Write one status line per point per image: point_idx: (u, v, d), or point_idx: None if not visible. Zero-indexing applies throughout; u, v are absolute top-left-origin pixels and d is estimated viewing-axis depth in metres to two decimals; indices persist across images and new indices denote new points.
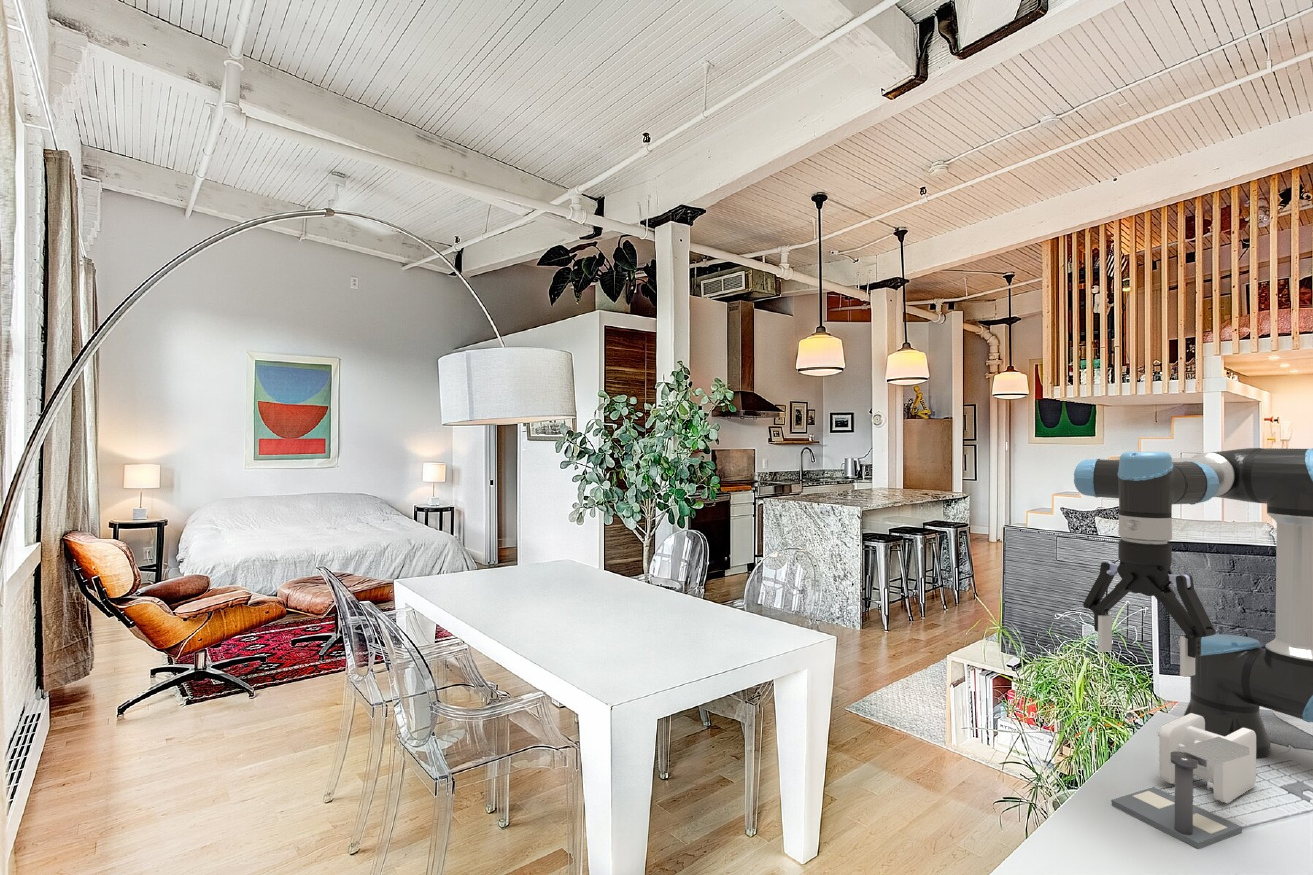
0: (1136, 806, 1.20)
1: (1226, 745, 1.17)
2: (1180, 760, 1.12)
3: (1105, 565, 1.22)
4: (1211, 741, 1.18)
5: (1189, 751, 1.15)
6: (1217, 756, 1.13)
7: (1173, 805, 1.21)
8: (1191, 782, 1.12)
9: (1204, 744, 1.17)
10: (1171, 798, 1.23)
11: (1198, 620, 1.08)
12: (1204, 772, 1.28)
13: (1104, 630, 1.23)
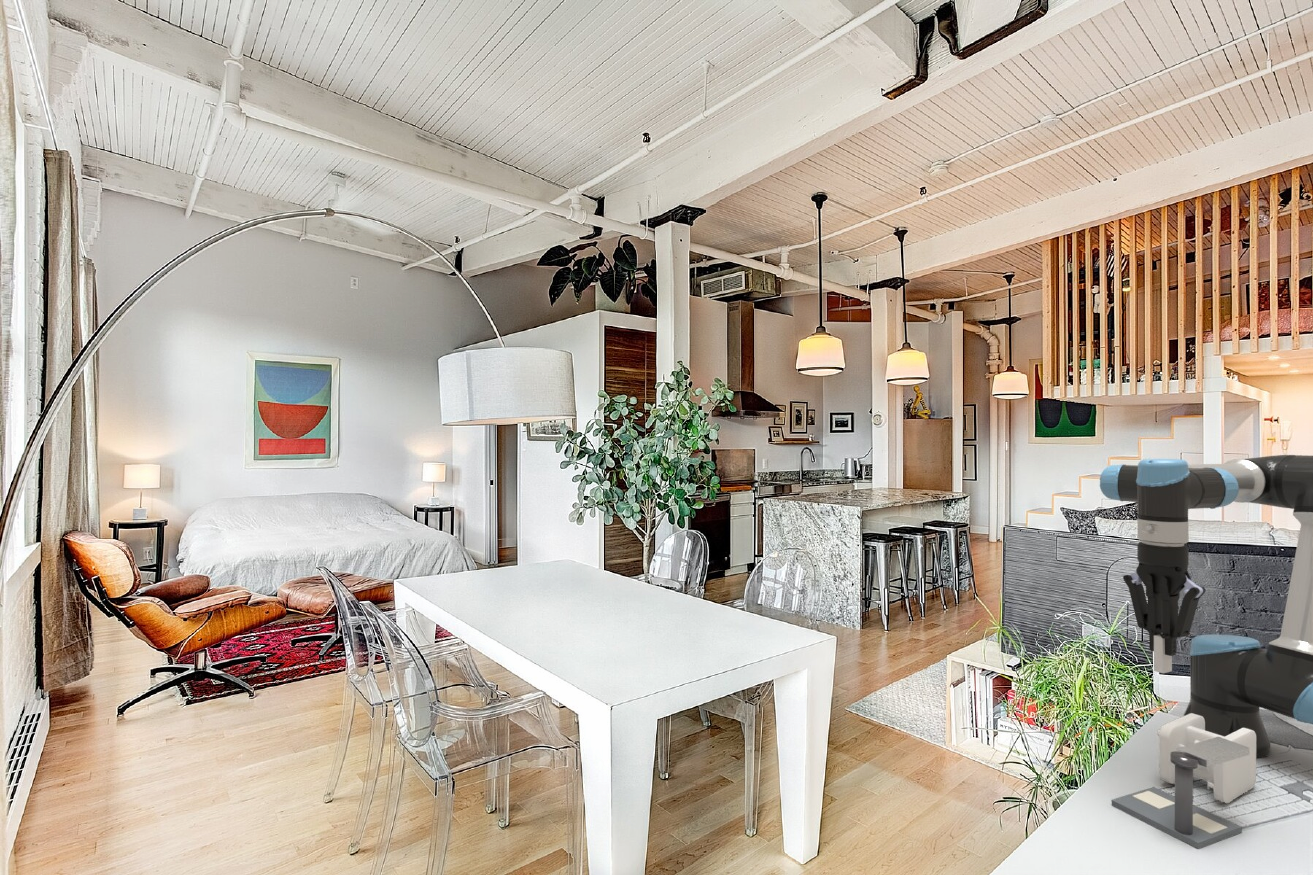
0: (1136, 806, 1.20)
1: (1226, 745, 1.17)
2: (1180, 760, 1.12)
3: (1127, 577, 1.28)
4: (1211, 741, 1.18)
5: (1189, 751, 1.15)
6: (1217, 756, 1.13)
7: (1173, 805, 1.21)
8: (1191, 782, 1.12)
9: (1204, 744, 1.17)
10: (1171, 798, 1.23)
11: (1182, 625, 1.20)
12: (1204, 772, 1.28)
13: None
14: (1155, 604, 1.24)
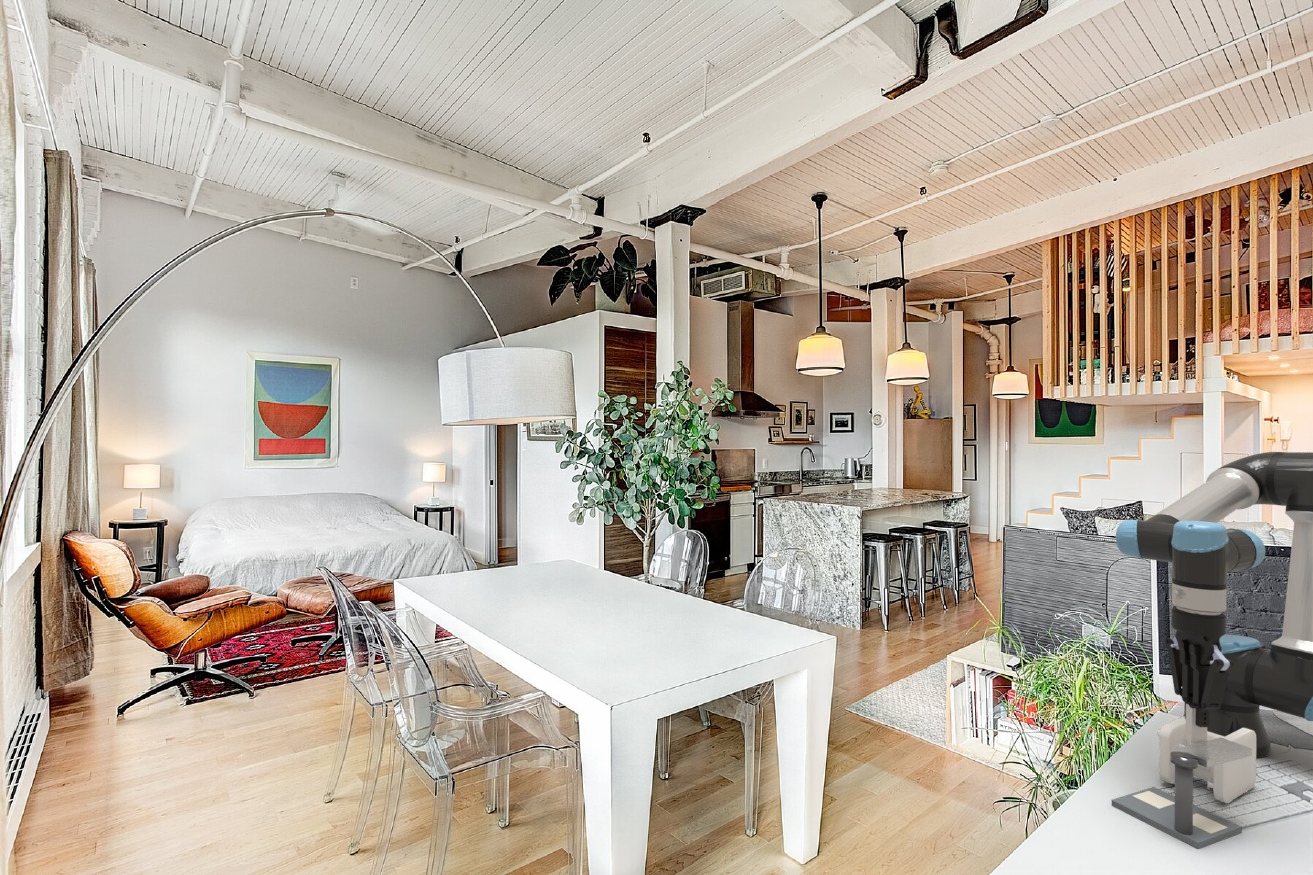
0: (1136, 806, 1.20)
1: (1228, 745, 1.17)
2: (1180, 760, 1.12)
3: (1167, 640, 1.25)
4: (1213, 741, 1.18)
5: (1189, 751, 1.15)
6: (1218, 756, 1.13)
7: (1173, 805, 1.21)
8: (1191, 782, 1.12)
9: (1205, 745, 1.17)
10: (1171, 798, 1.23)
11: (1207, 696, 1.15)
12: (1204, 772, 1.28)
13: None
14: (1189, 672, 1.20)
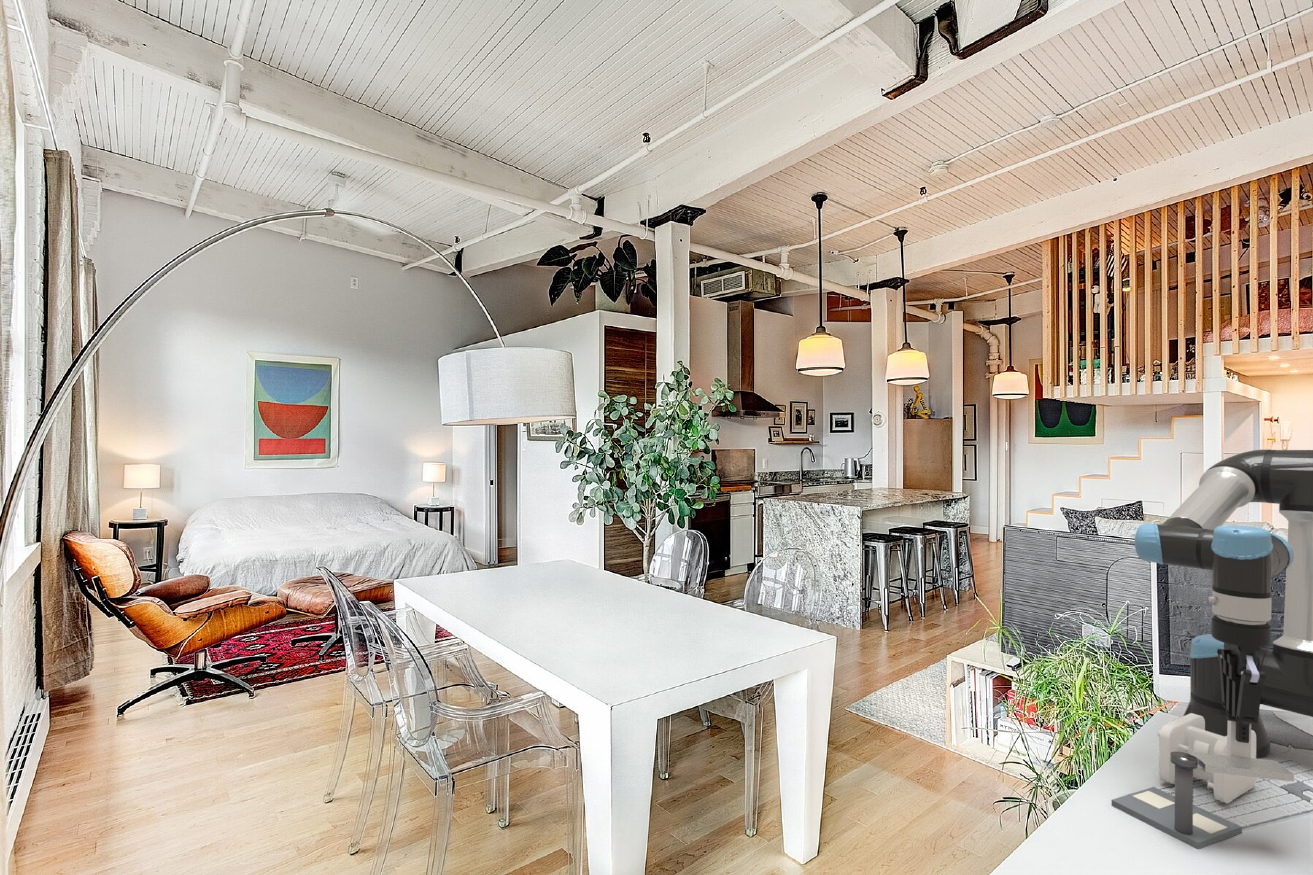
0: (1136, 806, 1.20)
1: (1266, 765, 1.10)
2: (1173, 757, 1.13)
3: (1218, 651, 1.19)
4: (1253, 759, 1.12)
5: (1201, 756, 1.13)
6: (1228, 766, 1.09)
7: (1173, 805, 1.21)
8: (1191, 782, 1.12)
9: (1236, 758, 1.12)
10: (1171, 798, 1.23)
11: (1239, 708, 1.10)
12: (1204, 772, 1.28)
13: None
14: (1231, 683, 1.14)
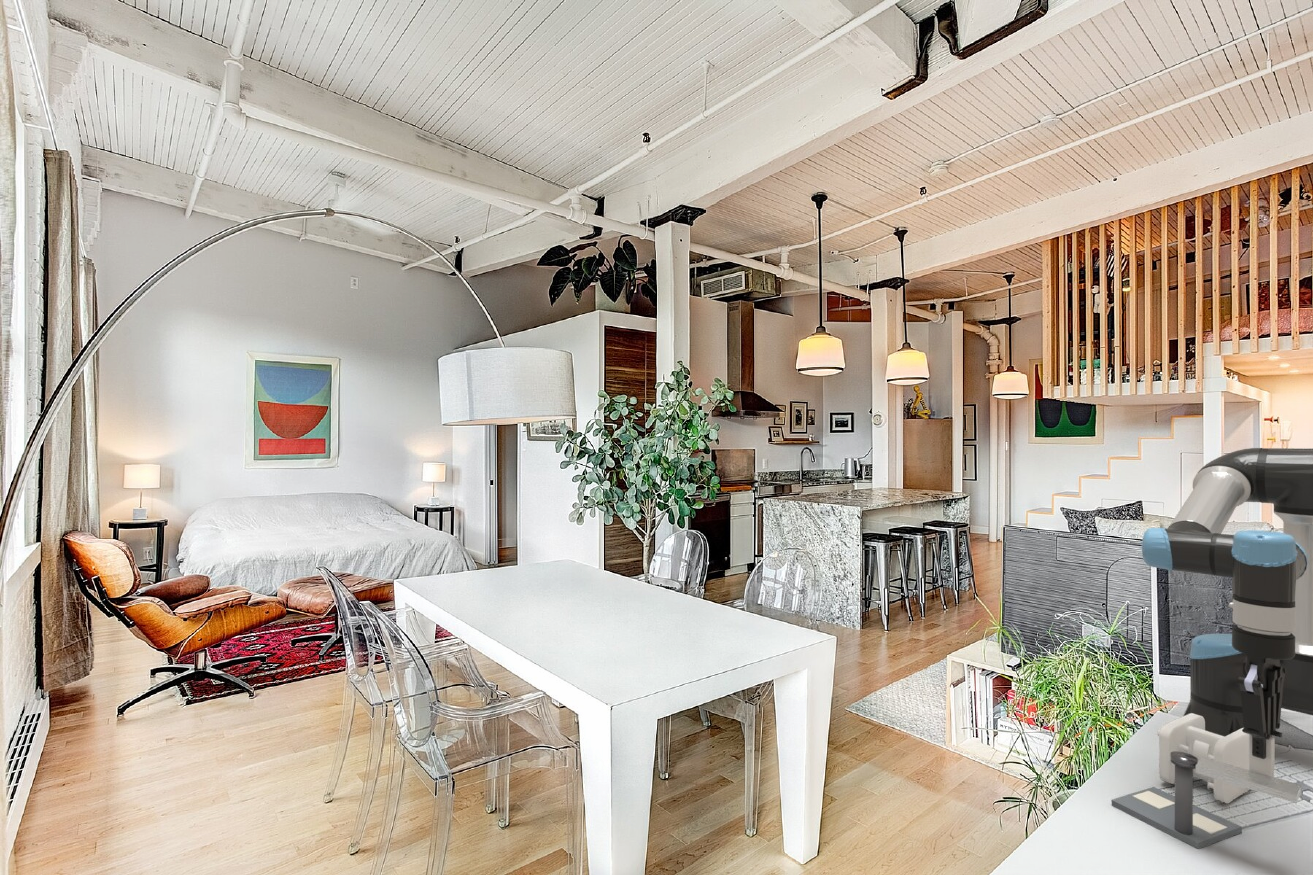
0: (1136, 806, 1.20)
1: (1275, 783, 1.04)
2: (1170, 754, 1.14)
3: None
4: (1270, 777, 1.06)
5: (1206, 761, 1.11)
6: (1221, 772, 1.07)
7: (1173, 805, 1.21)
8: (1191, 782, 1.12)
9: (1248, 771, 1.08)
10: (1171, 798, 1.23)
11: (1243, 718, 1.07)
12: None
13: None
14: None
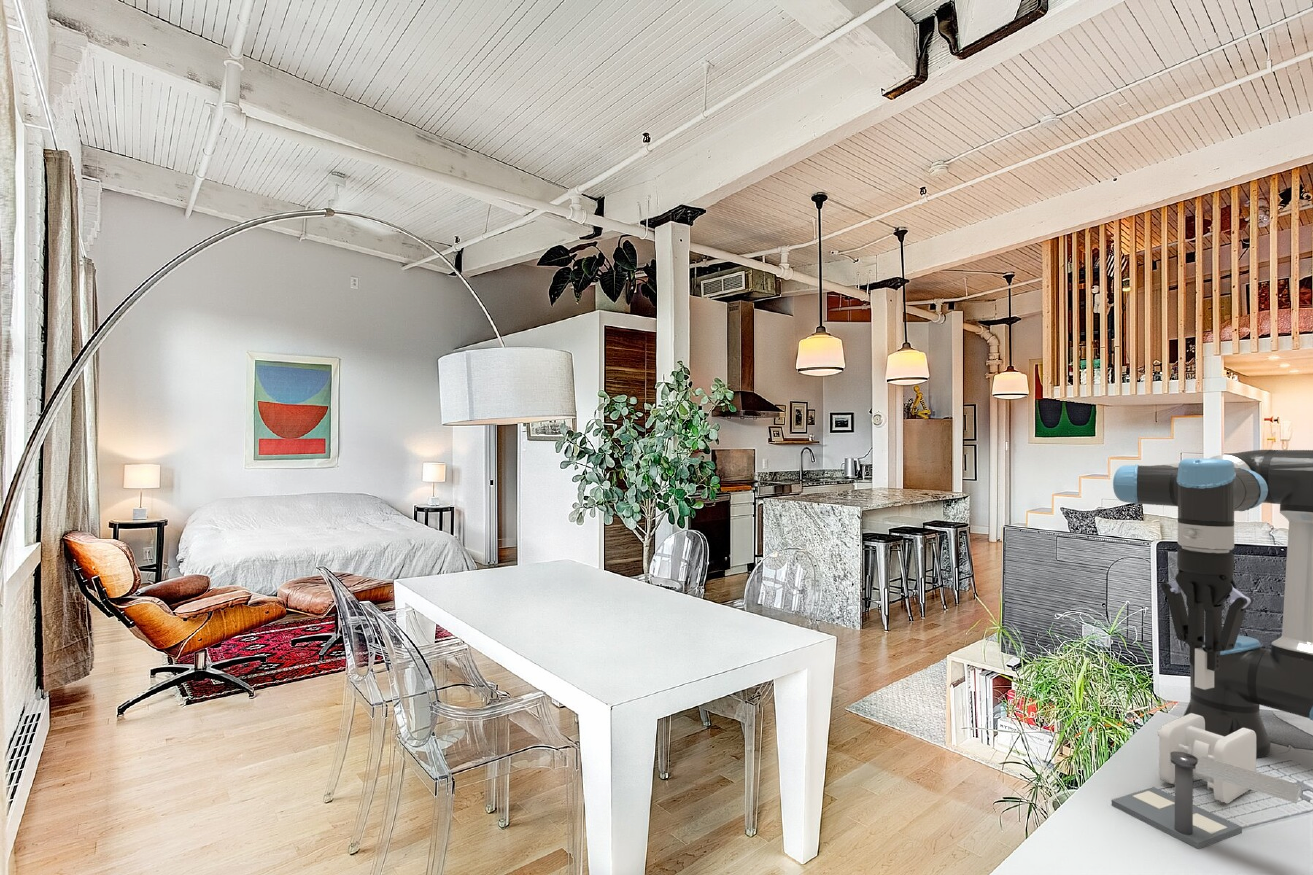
0: (1136, 806, 1.20)
1: (1275, 783, 1.04)
2: (1170, 754, 1.14)
3: (1165, 585, 1.19)
4: (1270, 777, 1.06)
5: (1206, 761, 1.11)
6: (1221, 772, 1.07)
7: (1173, 805, 1.21)
8: (1191, 782, 1.12)
9: (1248, 771, 1.08)
10: (1171, 798, 1.23)
11: (1227, 637, 1.11)
12: None
13: None
14: (1196, 615, 1.15)
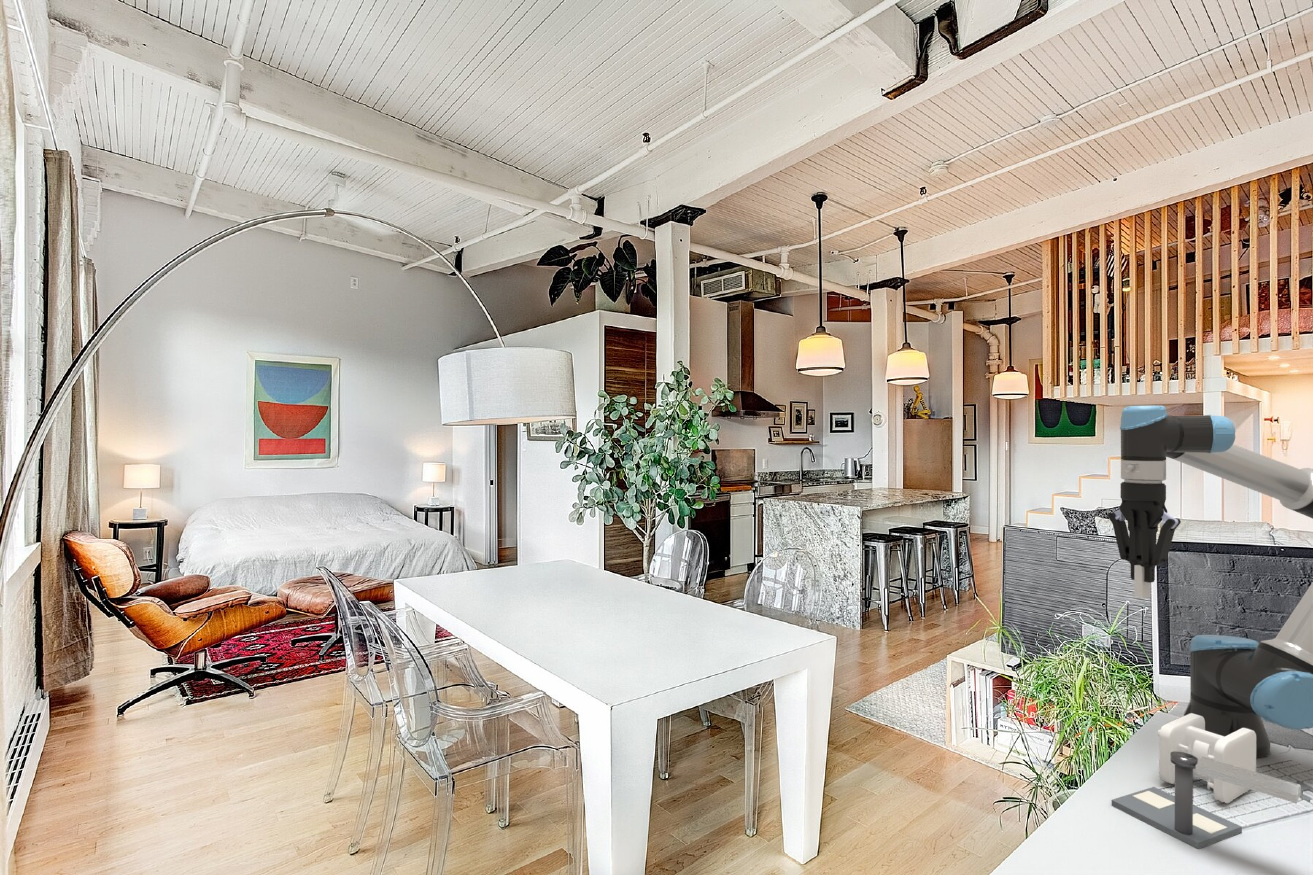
0: (1136, 806, 1.20)
1: (1275, 783, 1.04)
2: (1170, 754, 1.14)
3: (1111, 514, 1.42)
4: (1270, 777, 1.06)
5: (1206, 761, 1.11)
6: (1221, 772, 1.07)
7: (1173, 805, 1.21)
8: (1191, 782, 1.12)
9: (1248, 771, 1.08)
10: (1171, 798, 1.23)
11: (1159, 553, 1.33)
12: None
13: None
14: (1136, 537, 1.37)
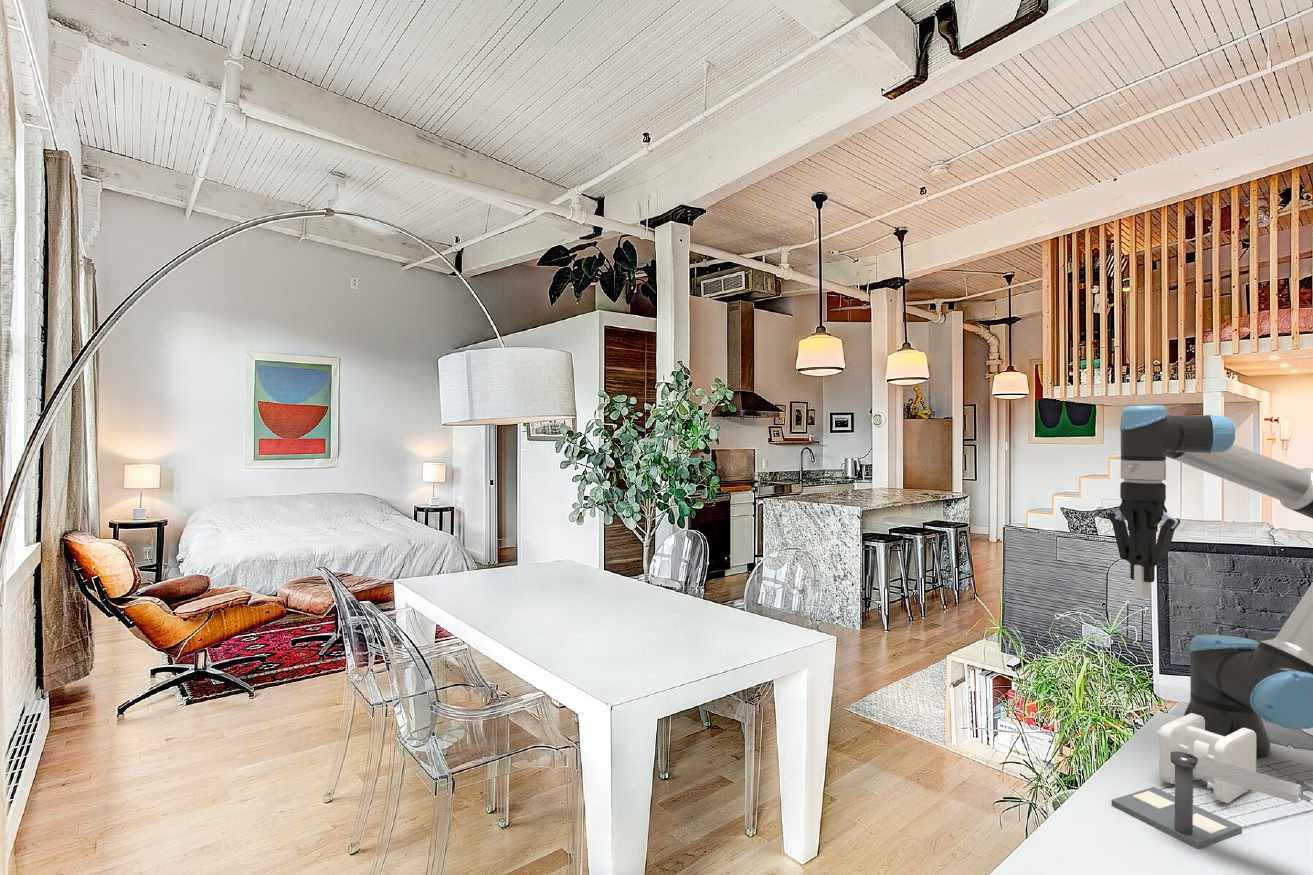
0: (1136, 806, 1.20)
1: (1275, 783, 1.04)
2: (1170, 754, 1.14)
3: (1111, 514, 1.42)
4: (1270, 777, 1.06)
5: (1206, 761, 1.11)
6: (1221, 772, 1.07)
7: (1173, 805, 1.21)
8: (1191, 782, 1.12)
9: (1248, 771, 1.08)
10: (1171, 798, 1.23)
11: (1159, 553, 1.33)
12: None
13: None
14: (1136, 537, 1.37)
